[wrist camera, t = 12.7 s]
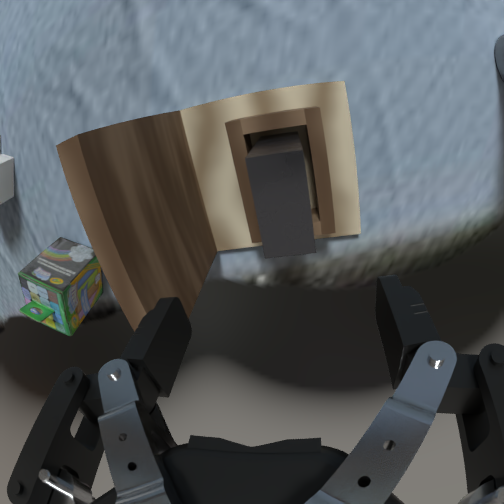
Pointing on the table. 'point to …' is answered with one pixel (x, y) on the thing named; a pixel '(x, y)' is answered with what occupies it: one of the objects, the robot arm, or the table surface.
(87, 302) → the chalk box
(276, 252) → the dark grey block
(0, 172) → the white stepped block
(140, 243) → the post socket
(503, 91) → the table surface
